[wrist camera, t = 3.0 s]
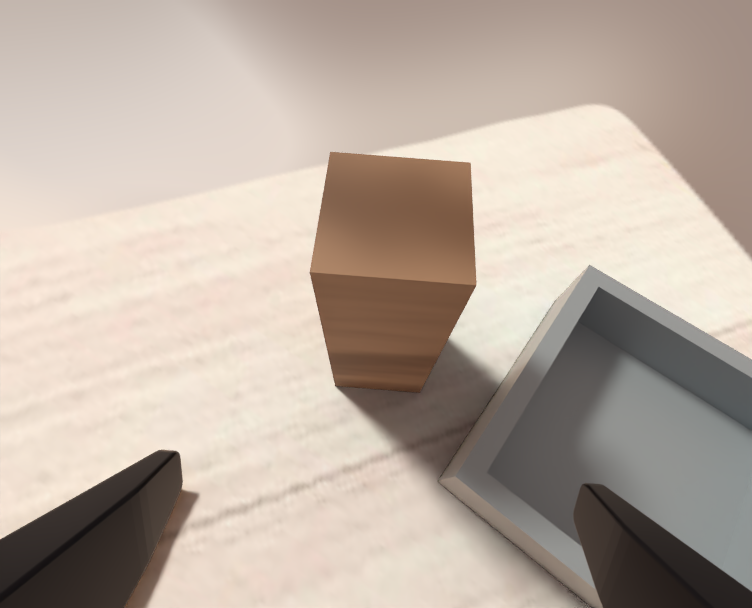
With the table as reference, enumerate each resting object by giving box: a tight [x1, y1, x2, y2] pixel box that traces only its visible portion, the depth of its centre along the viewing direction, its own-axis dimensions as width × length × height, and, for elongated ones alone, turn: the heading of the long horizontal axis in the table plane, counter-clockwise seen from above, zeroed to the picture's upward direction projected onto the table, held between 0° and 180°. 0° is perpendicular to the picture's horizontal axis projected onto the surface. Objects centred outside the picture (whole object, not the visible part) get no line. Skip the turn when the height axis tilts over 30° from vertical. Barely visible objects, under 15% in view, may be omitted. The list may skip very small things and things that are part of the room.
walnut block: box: [310, 152, 476, 393], centre depth 19 cm, size 5×5×13 cm
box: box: [438, 265, 752, 608], centre depth 20 cm, size 14×14×4 cm
